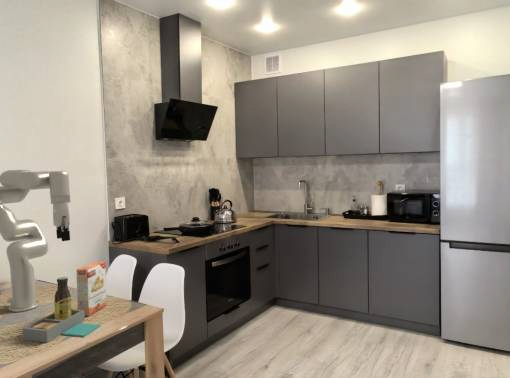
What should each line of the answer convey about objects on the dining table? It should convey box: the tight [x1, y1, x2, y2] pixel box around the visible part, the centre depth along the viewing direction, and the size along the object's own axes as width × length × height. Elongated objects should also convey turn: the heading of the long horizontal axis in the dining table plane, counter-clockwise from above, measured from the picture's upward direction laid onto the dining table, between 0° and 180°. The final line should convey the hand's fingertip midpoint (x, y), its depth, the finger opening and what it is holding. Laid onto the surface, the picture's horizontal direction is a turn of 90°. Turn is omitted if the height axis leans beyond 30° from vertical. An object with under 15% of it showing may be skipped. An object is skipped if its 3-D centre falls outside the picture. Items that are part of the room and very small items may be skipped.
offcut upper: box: [32, 322, 58, 330], centre depth 153 cm, size 7×5×2 cm
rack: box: [22, 308, 86, 343], centre depth 158 cm, size 11×21×4 cm, turn 166°
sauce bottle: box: [54, 276, 72, 320], centre depth 162 cm, size 7×6×20 cm
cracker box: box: [76, 261, 108, 317], centre depth 178 cm, size 14×6×21 cm, turn 168°
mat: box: [61, 322, 101, 338], centre depth 157 cm, size 10×10×1 cm
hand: (63, 239), depth 169 cm, fingers open, 9 cm apart
